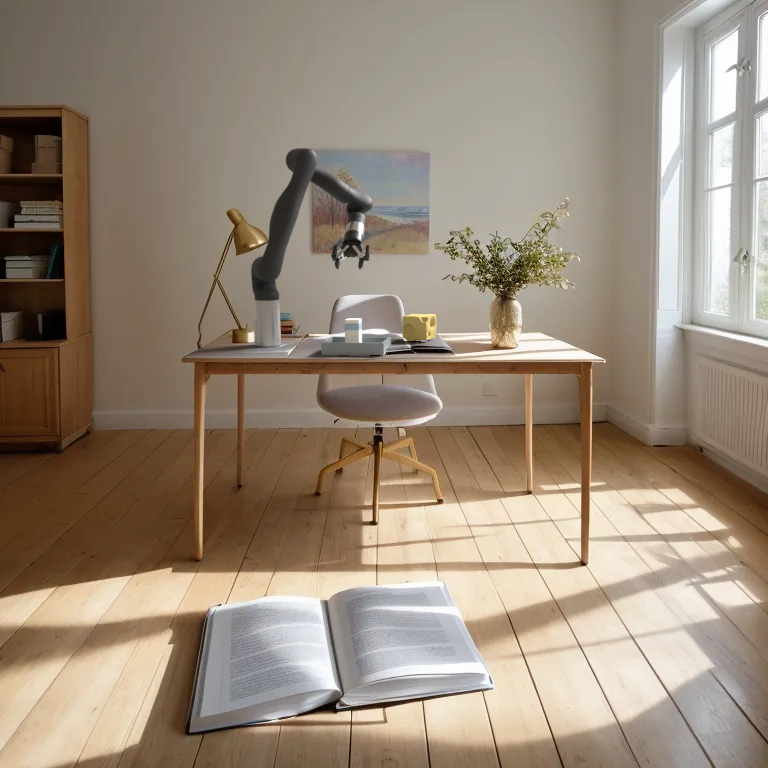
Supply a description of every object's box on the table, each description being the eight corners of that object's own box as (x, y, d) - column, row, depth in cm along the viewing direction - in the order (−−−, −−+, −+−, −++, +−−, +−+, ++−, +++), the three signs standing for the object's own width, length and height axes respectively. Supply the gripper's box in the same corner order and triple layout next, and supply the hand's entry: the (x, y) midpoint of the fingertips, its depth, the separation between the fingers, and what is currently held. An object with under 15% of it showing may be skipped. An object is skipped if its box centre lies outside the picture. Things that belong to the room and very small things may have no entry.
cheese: (426, 343, 311) (426, 316, 310) (400, 341, 316) (400, 315, 314) (437, 339, 321) (437, 314, 319) (411, 338, 325) (411, 313, 323)
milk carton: (345, 351, 289) (344, 319, 287) (348, 348, 294) (347, 318, 291) (359, 351, 288) (358, 320, 286) (362, 349, 293) (361, 318, 291)
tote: (321, 355, 285) (321, 342, 284) (331, 348, 300) (331, 336, 299) (383, 356, 281) (383, 343, 280) (390, 349, 296) (390, 337, 295)
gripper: (334, 229, 313) (327, 261, 304) (370, 228, 311) (365, 260, 302) (337, 243, 319) (331, 274, 310) (373, 242, 317) (368, 274, 308)
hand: (348, 267), depth 306 cm, fingers open, 8 cm apart
